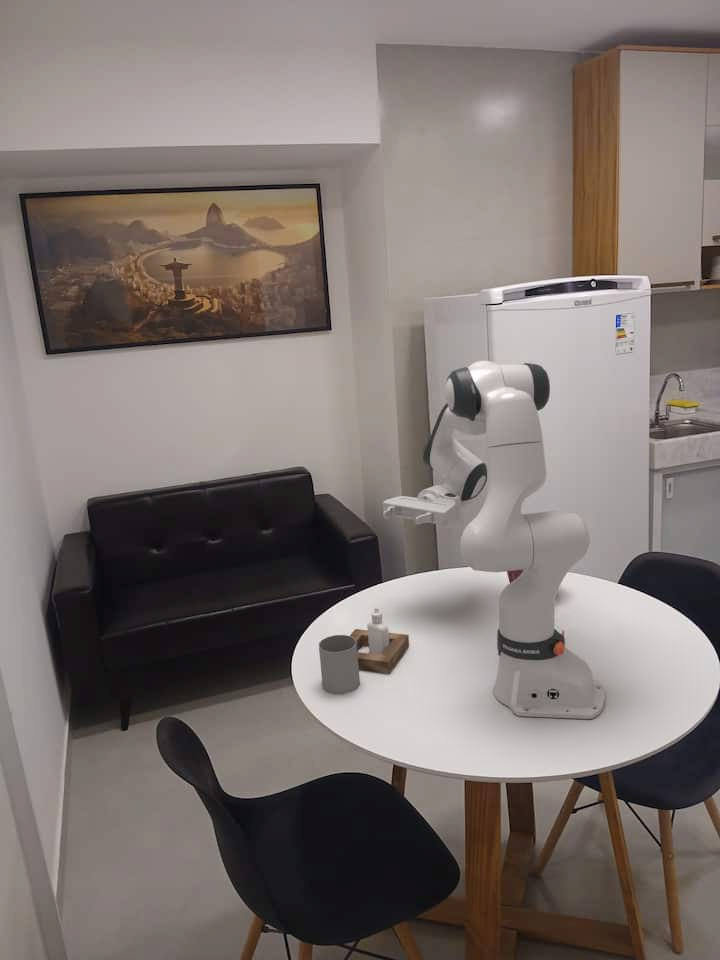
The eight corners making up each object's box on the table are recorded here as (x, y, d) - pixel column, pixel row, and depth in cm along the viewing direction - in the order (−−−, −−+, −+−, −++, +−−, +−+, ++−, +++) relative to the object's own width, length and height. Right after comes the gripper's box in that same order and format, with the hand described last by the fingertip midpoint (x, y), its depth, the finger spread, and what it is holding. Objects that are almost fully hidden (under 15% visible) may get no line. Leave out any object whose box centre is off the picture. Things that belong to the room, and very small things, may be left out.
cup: (361, 674, 166) (358, 634, 163) (358, 693, 158) (354, 651, 155) (325, 675, 167) (321, 635, 164) (319, 694, 159) (315, 652, 156)
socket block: (409, 646, 178) (408, 634, 177) (389, 674, 165) (388, 662, 164) (356, 639, 183) (355, 628, 182) (333, 666, 170) (332, 654, 170)
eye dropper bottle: (373, 661, 172) (369, 614, 169) (368, 650, 177) (364, 604, 174) (391, 658, 172) (388, 611, 170) (385, 647, 178) (382, 602, 175)
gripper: (401, 487, 195) (367, 500, 185) (465, 497, 181) (432, 511, 171) (403, 510, 196) (369, 524, 187) (466, 521, 183) (433, 537, 173)
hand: (399, 518), depth 179 cm, fingers open, 8 cm apart
